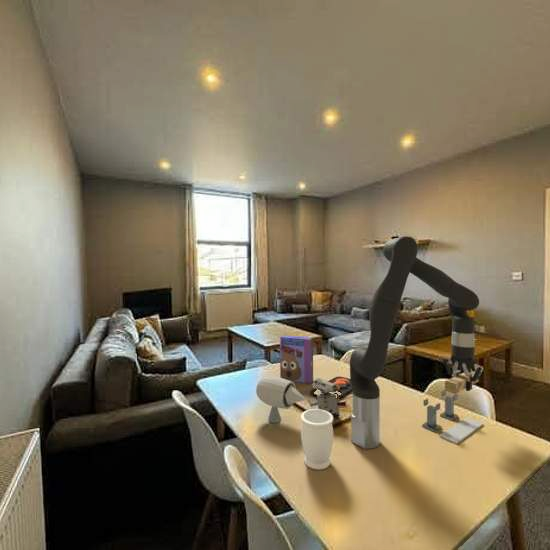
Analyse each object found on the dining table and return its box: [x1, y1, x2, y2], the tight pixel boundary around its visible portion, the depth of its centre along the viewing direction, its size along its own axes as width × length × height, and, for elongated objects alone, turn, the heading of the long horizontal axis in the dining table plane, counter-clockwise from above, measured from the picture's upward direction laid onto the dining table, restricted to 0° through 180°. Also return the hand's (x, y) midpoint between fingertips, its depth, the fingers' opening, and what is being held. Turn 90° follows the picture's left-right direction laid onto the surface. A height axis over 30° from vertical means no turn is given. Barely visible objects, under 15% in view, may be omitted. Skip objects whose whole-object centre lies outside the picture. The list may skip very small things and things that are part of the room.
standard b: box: [439, 389, 460, 422], centre depth 128 cm, size 5×5×10 cm
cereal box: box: [279, 334, 314, 385], centre depth 169 cm, size 17×5×24 cm, turn 67°
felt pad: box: [439, 417, 484, 445], centre depth 117 cm, size 22×6×1 cm, turn 125°
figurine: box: [308, 377, 341, 418], centre depth 129 cm, size 9×12×15 cm
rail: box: [444, 370, 480, 395], centre depth 117 cm, size 19×4×4 cm, turn 125°
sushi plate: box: [310, 376, 353, 397], centre depth 152 cm, size 29×30×4 cm
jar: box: [300, 408, 334, 471], centre depth 99 cm, size 11×10×15 cm
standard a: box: [421, 398, 442, 433], centre depth 119 cm, size 5×5×10 cm
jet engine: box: [255, 376, 306, 423], centre depth 125 cm, size 15×20×18 cm
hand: (462, 388), depth 117 cm, fingers closed on rail, 3 cm apart
